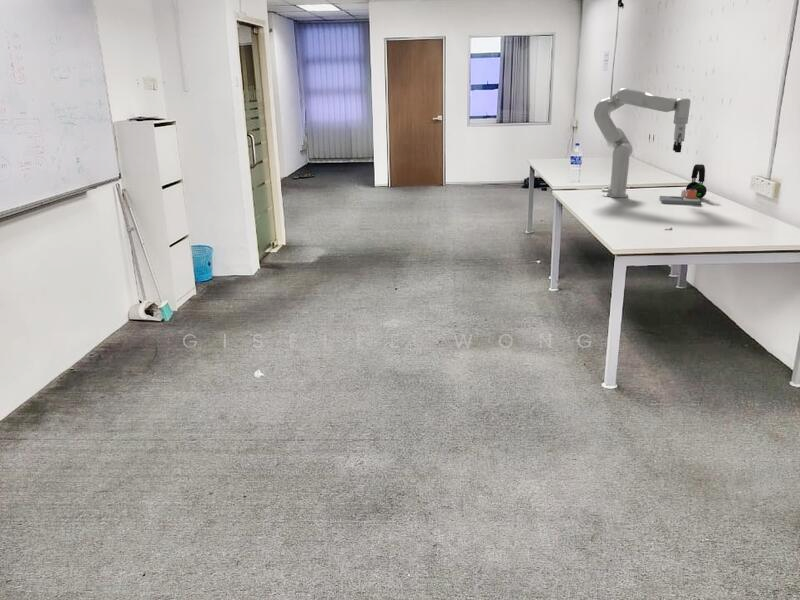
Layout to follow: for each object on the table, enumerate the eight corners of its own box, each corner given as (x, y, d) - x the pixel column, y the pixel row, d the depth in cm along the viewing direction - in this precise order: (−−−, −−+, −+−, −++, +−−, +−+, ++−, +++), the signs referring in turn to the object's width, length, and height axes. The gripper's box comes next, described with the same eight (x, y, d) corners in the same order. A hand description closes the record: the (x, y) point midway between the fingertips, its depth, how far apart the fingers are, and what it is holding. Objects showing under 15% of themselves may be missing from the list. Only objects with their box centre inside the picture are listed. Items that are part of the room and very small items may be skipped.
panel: (661, 203, 368) (662, 197, 367) (659, 199, 381) (660, 193, 380) (700, 205, 362) (701, 199, 361) (697, 200, 375) (698, 195, 374)
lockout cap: (687, 200, 365) (688, 189, 363) (686, 199, 369) (687, 188, 367) (695, 200, 364) (697, 190, 362) (694, 199, 368) (696, 188, 366)
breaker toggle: (681, 197, 372) (682, 190, 371) (680, 196, 376) (681, 189, 374) (686, 197, 371) (687, 190, 370) (685, 196, 375) (686, 189, 373)
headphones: (690, 200, 378) (695, 166, 371) (683, 195, 392) (687, 162, 386) (707, 200, 377) (712, 166, 370) (699, 195, 391) (703, 163, 385)
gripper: (689, 122, 355) (685, 153, 361) (685, 120, 371) (681, 150, 376) (675, 121, 357) (671, 152, 363) (672, 120, 373) (668, 149, 378)
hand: (676, 151), depth 369 cm, fingers open, 9 cm apart
